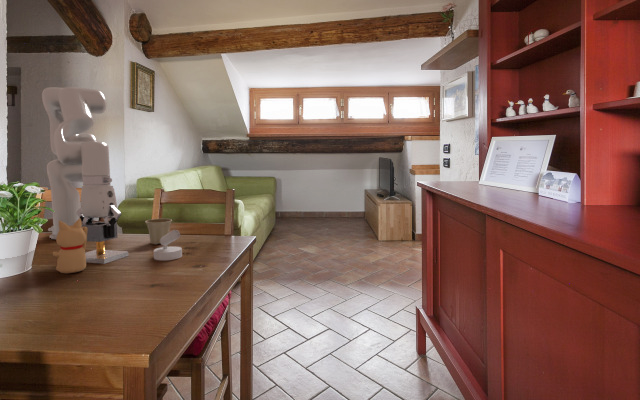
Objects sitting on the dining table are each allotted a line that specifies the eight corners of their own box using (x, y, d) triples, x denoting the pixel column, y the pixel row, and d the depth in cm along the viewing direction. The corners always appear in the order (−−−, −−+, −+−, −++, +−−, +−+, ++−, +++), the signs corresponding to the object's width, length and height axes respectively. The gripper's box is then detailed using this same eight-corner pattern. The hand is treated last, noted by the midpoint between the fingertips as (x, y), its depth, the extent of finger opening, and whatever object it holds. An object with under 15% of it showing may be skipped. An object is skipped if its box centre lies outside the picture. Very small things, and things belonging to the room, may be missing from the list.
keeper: (72, 261, 118) (70, 234, 117) (98, 253, 128) (96, 228, 127) (104, 263, 115) (102, 236, 114) (128, 255, 125) (127, 230, 124)
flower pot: (166, 245, 140) (165, 222, 139) (141, 245, 140) (140, 222, 140) (176, 240, 150) (176, 218, 149) (153, 240, 150) (152, 218, 149)
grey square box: (99, 236, 125) (98, 221, 125) (117, 237, 123) (116, 222, 123) (81, 240, 118) (80, 225, 118) (100, 241, 117) (99, 225, 116)
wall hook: (163, 232, 116) (147, 228, 122) (164, 262, 117) (148, 257, 123) (188, 228, 123) (172, 225, 129) (189, 257, 124) (173, 252, 130)
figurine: (82, 264, 115) (79, 215, 113) (97, 270, 109) (94, 218, 107) (49, 271, 108) (45, 218, 106) (63, 277, 102) (60, 222, 101)
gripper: (128, 181, 121) (131, 236, 122) (84, 180, 125) (87, 233, 127) (110, 182, 113) (113, 241, 115) (63, 181, 118) (67, 238, 119)
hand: (99, 236), depth 121 cm, fingers closed on grey square box, 7 cm apart
